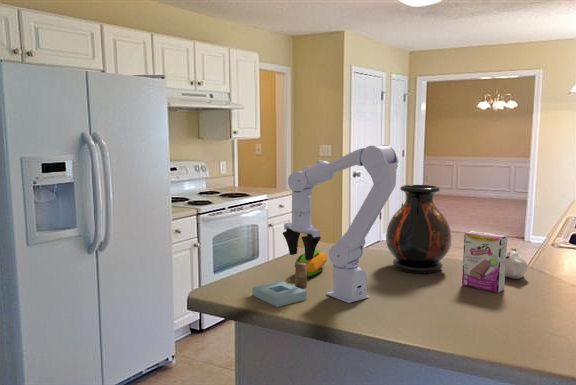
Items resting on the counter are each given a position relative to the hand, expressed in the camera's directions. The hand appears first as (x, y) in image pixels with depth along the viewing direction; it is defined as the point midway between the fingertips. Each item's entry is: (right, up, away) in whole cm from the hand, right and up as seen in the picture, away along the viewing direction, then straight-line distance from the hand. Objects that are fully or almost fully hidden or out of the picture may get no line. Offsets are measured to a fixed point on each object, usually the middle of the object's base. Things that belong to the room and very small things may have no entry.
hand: (301, 256), depth 151 cm
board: (-6, -10, -9) cm, 15 cm away
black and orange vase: (+40, -7, +22) cm, 46 cm away
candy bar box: (+54, -10, 0) cm, 55 cm away
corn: (+4, -8, +17) cm, 19 cm away
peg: (0, -9, +1) cm, 9 cm away
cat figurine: (+68, -8, +12) cm, 70 cm away
